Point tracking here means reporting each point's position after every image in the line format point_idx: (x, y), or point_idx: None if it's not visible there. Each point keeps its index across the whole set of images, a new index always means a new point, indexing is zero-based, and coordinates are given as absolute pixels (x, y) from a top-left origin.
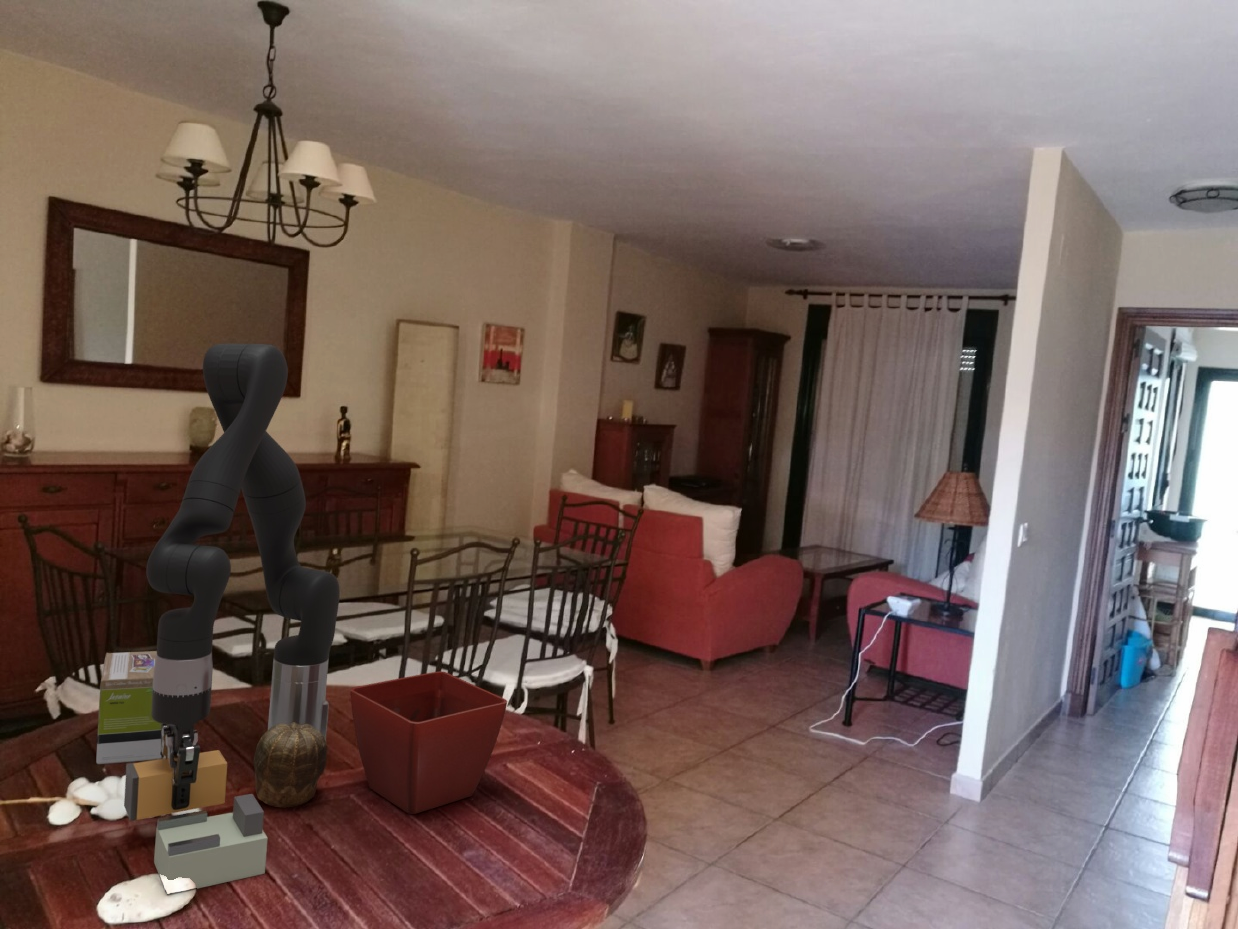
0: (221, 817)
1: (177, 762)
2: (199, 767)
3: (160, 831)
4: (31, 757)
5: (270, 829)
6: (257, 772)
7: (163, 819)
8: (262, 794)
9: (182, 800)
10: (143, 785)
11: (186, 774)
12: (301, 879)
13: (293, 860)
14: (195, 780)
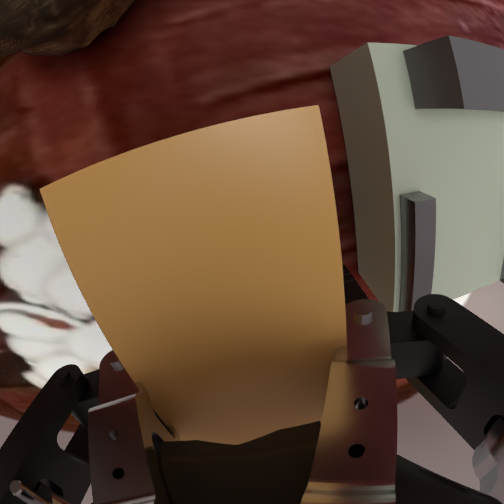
0: (407, 142)
1: (468, 438)
2: (336, 306)
3: None
4: (5, 406)
5: (260, 7)
6: (65, 22)
7: None
8: (97, 27)
9: None
10: None
11: (405, 354)
12: (474, 24)
13: (417, 5)
14: (452, 302)
